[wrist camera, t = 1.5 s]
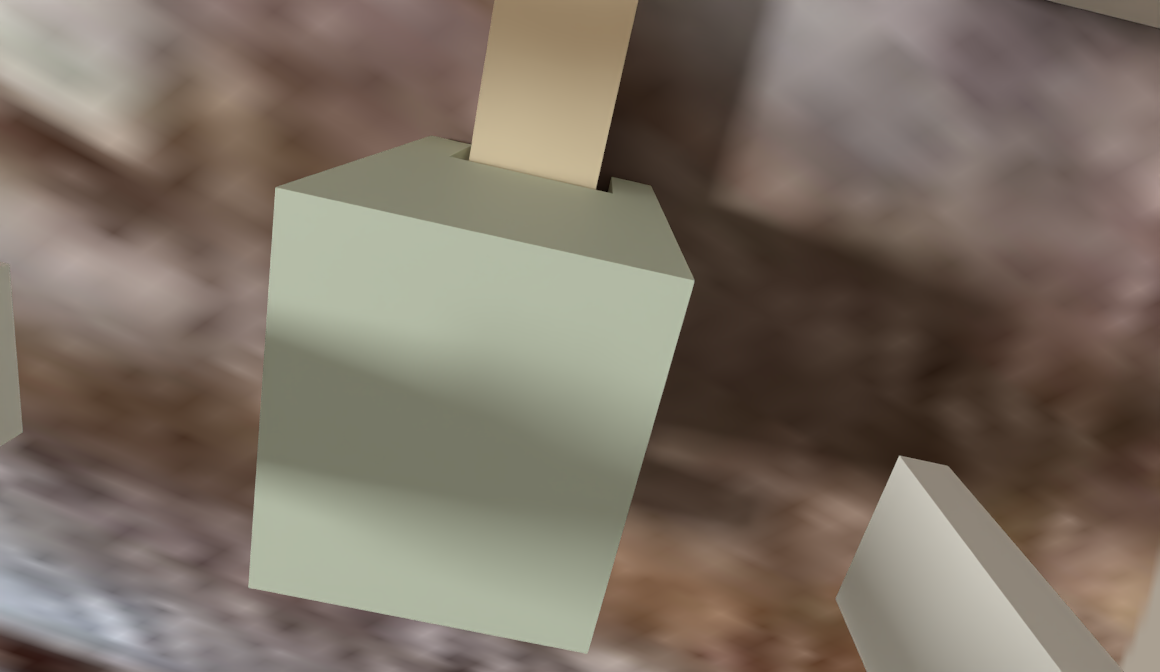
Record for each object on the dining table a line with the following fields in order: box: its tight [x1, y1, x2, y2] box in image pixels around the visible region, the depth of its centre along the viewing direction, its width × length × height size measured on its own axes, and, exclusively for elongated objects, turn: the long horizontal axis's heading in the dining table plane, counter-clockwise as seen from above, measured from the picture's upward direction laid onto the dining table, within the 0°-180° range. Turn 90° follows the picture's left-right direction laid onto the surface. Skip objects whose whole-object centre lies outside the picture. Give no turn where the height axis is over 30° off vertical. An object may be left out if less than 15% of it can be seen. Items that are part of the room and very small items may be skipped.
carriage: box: [248, 136, 695, 654], centre depth 16 cm, size 7×6×10 cm
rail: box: [469, 0, 638, 190], centre depth 15 cm, size 26×5×6 cm, turn 168°
